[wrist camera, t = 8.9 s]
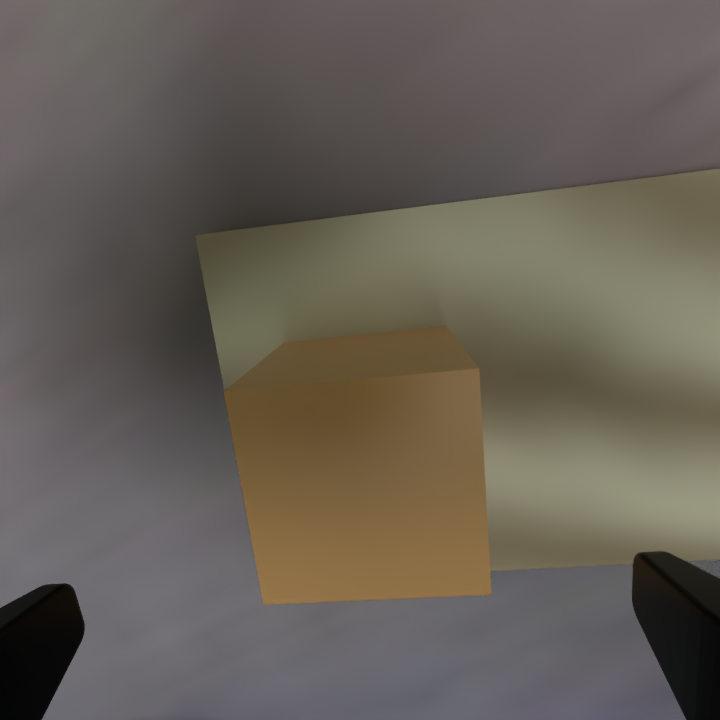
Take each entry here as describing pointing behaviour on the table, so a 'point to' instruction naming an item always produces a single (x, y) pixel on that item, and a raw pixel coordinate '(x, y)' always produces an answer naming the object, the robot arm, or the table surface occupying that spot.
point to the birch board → (529, 346)
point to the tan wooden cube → (364, 468)
